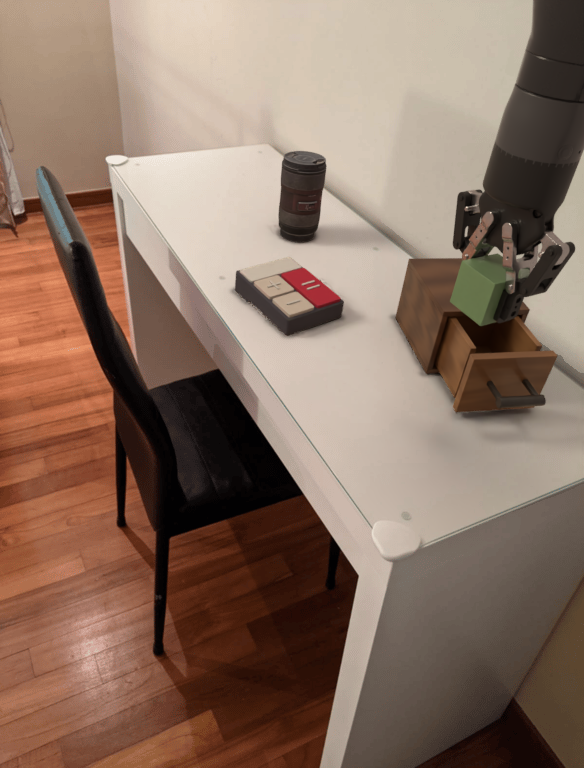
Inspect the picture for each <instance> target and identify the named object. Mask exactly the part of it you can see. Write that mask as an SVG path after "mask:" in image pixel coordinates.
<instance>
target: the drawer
mask: <svg viewBox="0 0 584 768" xmlns="http://www.w3.org/2000/svg"><path fill="white" fill-rule="evenodd" d="M542 348H543V344H542V343H541V342H540V341H539V339H538V338H537V337H536V336H535V334H533V332H532V331H531V329H529V327H528V325H526V323H523V321H522V320H521V319H520V318H519V316H518V315H517V316H516V317H515V318H514V319H511V320H509V321H506V322H502V323H497V322H495V323H491V324H487V325H484V326H480V325H478V324H477V323H476V322H475V321H473V320H472V319H471V318H470V317H468V316H448V317H447V321H446V324H445V327H444V331H443V334H442V338H441V341H440V344H439V348H438V351H437V355H436V358H435V361H434V363H435V365H436V367H437V369H438V370H439V372H440V373H439V374H440V376H441V377H442V380H443V381H444V383H445V385H446V386H447V388H448V390H449V392H450V393H451V395H452V397H453V398H454V401H453V404H452V409H453V410H454V412H455V413H471V412H472V413H473V412H487V411H488V412H489V411H504V410H505V411H507V410H521V409H523V410H524V409H535V407H543V406H545V405H546V401H547V399H546V397H545V395H544V394H542V392H543V390H544V388H545V386H546V383H547V381H548V379H549V376H550V374H551V372H552V369H553V368H554V365H555V363H556V361H557V359H558V354H557V353H556V352H555V351H554V350H542Z"/></svg>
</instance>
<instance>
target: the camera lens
mask: <svg viewBox="0 0 584 768" xmlns="http://www.w3.org/2000/svg"><path fill="white" fill-rule="evenodd" d="M280 171H281V172H280V193H279V205H278V214H277V215H278V228H279V234H280V236H281V237H282V238H283V240H286V241H289V242H292V243H293V242H294V243H306V242H310V241H312V240H313V239H314V238H315V236H316V235H315V234H316V231H318V228H319V223H320V219H321V213H322V211H321V209H322V199H323V191H324V187H325V183H326V176H327V175H326V174H327V159H326V157H325V156H324V155H322V154H320V153H317V152H313V151H307V150H293V151H289V152H286V153H285V154H284V155H283V159H282V161H281V170H280Z"/></svg>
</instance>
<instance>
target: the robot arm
mask: <svg viewBox="0 0 584 768" xmlns="http://www.w3.org/2000/svg"><path fill="white" fill-rule="evenodd" d="M531 9H532V11H531V12H532V15H531V16H532V17H531V29H530V34H529V37H528V40H527V42H526V46H525V49H524V53H523V57H522V60H521V63H520V66H519V70H518V73H517V76H516V79H515V83H514V85H513V89H512V91H511V94H510V96H509V98H508V101H507V102H506V105H505V107H504V110H503V113H502V115H501V120H500V122H499V126H498V129H497V133H496V135H495V140H494V143H493V146H492V150H491V153H490V156H489V160H488V163H487V166H486V169H485V173H484V177H483V180H482V189H483V190H484V191H483V190H482V189H478V188H477V189H470V190H465V191H460V192H458V194H457V199H456V206H455V215H454V216H455V217H454V225H453V226H454V227H453V237H452V247H453V249H454V250H459V251H460V253H461V258H462V259H463V260H468V259H473V258H478V257H482V256H487V255H490V253H491V252H492V251H493V249H494V248H496V249H498V251H499V252H500V253H501V254H502V257H503V264H502V266H503V268H504V269H505V270H506V279H505V290H503V292H502V294H501V297H500V300H499V303H498V306H497V308H496V311H495V314H494V317H493V319H494V320H495V321H496V322H497V323H502V322H506V321H509V320H511V319H514V318H515V317H516V316H517V315H518V312H519V310H520V307H521V304H522V302H524V299H525V298H529V297H533V296H537V295H541V294H544V293H546V292H548V290H549V289H550V287H551V286H552V285H553V283H554V282H555V280H556V279H557V277H558V276H559V274H560V273H561V272H562V270H563V269H564V268H565V266H566V265H567V264H568V262H569V260H570V259H571V257H572V256H573V255H574V254H575V252H576V245H575V244H574V242H572V241H566V242H564V241H563V240H561V238H559V237H558V236H557V234H555V233H554V231H555V230H554V229H555V216H556V214H557V211H558V210H559V209H560V207H561V206H562V205H563V203H564V202H565V199H566V196H567V194H568V192H569V190H570V187H571V184H572V181H573V180H574V179H573V178H574V176H575V175H576V172H577V169H578V166H579V164H580V161H581V158H582V155H583V153H584V0H532V8H531ZM466 229H467V231H466ZM466 232H467V233H466ZM540 244H541V249H540V251H539V245H540ZM521 255H522V257H520V258H517V256H521ZM519 270H520V279H518V277H519Z"/></svg>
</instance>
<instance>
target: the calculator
mask: <svg viewBox="0 0 584 768" xmlns="http://www.w3.org/2000/svg"><path fill="white" fill-rule="evenodd" d="M234 291H236V292H237V294H239V296H241V298H243V299H244V300H245V301H246V302H250V303H251V304H252V305H253V306H255V308H256V309H257V310H259V312H261V313H262V314H263V315H264V316H265V317H266V318H267V319H268V320H269V321H270V322H271V323H272V324H273V325H274V326H275V327H276V328H277V329H278V330H280V331H281V332H282V333H283V334H284V335H285V336H291V335H294V334H296V333H300V332H302V331H305V330H308V329H312V328H315V327H317V326H320V325H322V324H323V325H324V324H327V323H328V322H331V321H334V320H337V319H340V318H341V317H342V314H343V309H344V305H345V301H344V300H343V299H342V297H340V296H339V295H338V294H337V292H335V291H333V290H332V289H331V288H330V287H329V286H328V285H326V284H325V283H323V282H322V281H321V280H320V279H319V278H317V277H316V276H315V275H314V274H312V273H311V271H309V270H308V269H307V268H305V267H304V266H302V265H300V263H298V262H297V261H296V260H295V259H294V258H292V257H290V256H287V257H283V258H282V257H281V258H279V259H275V260H272V261H267V262H264V263H260V264H257V265H252V266H249V267H245V268H242V269H239V270H236V271H235V282H234Z"/></svg>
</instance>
